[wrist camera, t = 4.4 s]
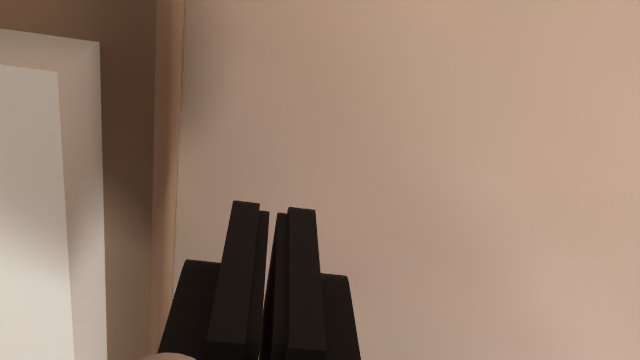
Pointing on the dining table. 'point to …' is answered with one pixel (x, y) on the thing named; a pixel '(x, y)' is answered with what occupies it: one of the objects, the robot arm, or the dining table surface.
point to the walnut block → (129, 149)
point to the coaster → (51, 199)
